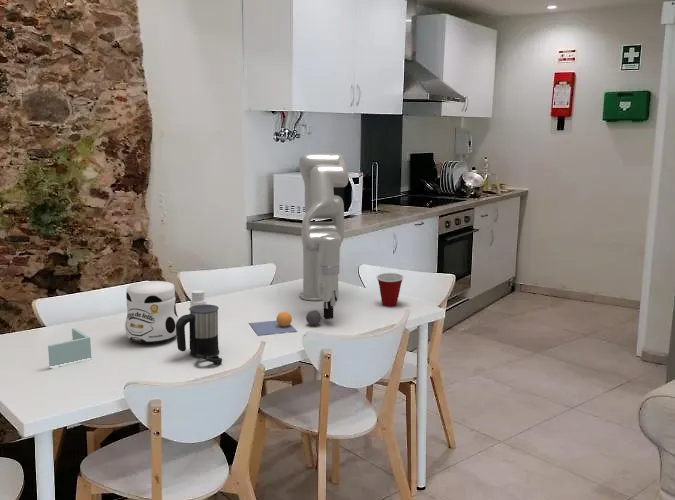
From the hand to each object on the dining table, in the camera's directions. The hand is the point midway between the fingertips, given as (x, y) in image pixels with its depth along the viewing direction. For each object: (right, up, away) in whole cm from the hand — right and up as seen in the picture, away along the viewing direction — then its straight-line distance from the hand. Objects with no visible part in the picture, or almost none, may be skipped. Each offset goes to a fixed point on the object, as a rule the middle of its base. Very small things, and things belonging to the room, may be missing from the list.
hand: (328, 318), depth 238 cm
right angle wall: (-80, -9, -39) cm, 90 cm away
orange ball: (-16, 0, -6) cm, 17 cm away
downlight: (-48, 0, +4) cm, 48 cm away
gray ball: (-5, +1, -4) cm, 7 cm away
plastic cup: (+24, +3, +24) cm, 34 cm away
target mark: (-20, -3, -7) cm, 21 cm away
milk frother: (-37, -9, -37) cm, 53 cm away
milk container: (-58, -5, -20) cm, 62 cm away
